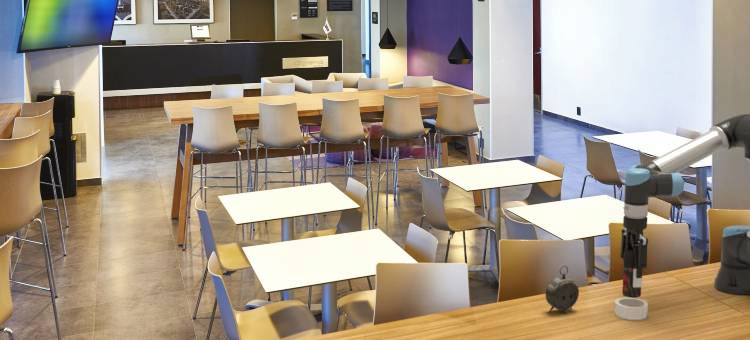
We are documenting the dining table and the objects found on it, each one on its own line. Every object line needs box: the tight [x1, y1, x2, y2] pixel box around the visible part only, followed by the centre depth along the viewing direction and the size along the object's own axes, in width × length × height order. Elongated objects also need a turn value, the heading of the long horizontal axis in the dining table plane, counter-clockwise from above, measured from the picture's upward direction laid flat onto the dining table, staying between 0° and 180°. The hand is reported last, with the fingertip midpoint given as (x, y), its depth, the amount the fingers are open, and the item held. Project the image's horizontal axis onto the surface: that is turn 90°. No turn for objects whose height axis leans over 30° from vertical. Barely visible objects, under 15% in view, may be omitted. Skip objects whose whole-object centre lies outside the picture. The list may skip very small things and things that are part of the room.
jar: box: [614, 297, 649, 321], centre depth 293 cm, size 10×10×4 cm
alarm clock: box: [545, 265, 580, 315], centre depth 296 cm, size 11×5×16 cm, turn 112°
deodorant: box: [622, 249, 642, 299], centre depth 291 cm, size 6×6×15 cm
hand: (632, 283), depth 292 cm, fingers closed on deodorant, 6 cm apart
